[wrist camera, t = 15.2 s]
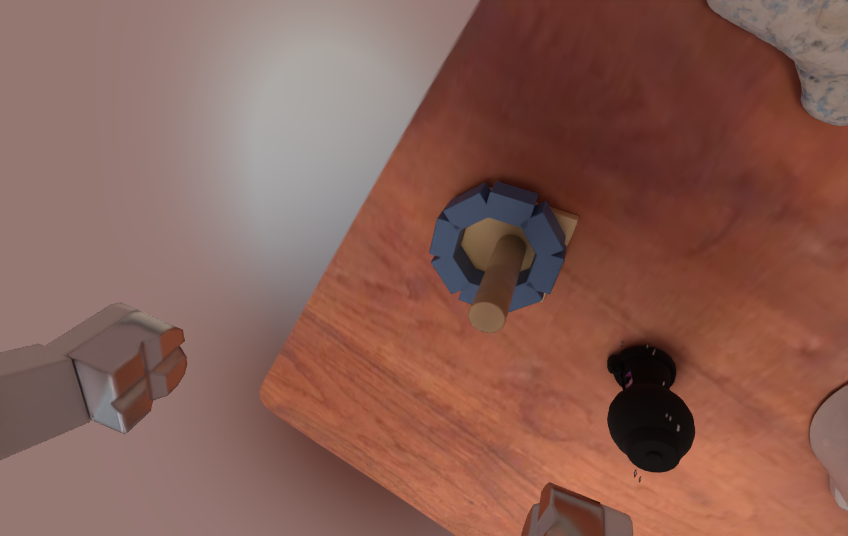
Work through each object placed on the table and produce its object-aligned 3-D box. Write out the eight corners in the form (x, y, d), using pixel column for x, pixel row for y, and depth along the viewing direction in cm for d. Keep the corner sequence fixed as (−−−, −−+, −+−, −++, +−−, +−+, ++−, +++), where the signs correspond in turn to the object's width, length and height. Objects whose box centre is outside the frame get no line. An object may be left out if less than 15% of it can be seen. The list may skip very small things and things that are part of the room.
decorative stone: (659, 22, 29) (669, 26, 24) (750, -105, 25) (780, -125, 21) (845, 137, 28) (887, 161, 24) (964, 28, 25) (1040, 34, 20)
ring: (582, 207, 35) (581, 219, 33) (539, 310, 40) (536, 327, 38) (454, 168, 36) (446, 178, 34) (429, 272, 42) (421, 286, 40)
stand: (579, 215, 36) (571, 290, 27) (543, 296, 40) (526, 383, 31) (480, 183, 37) (441, 244, 28) (456, 265, 42) (415, 340, 33)
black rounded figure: (620, 324, 39) (625, 411, 31) (696, 344, 38) (722, 440, 30) (596, 381, 43) (595, 472, 35) (665, 401, 42) (681, 501, 33)
